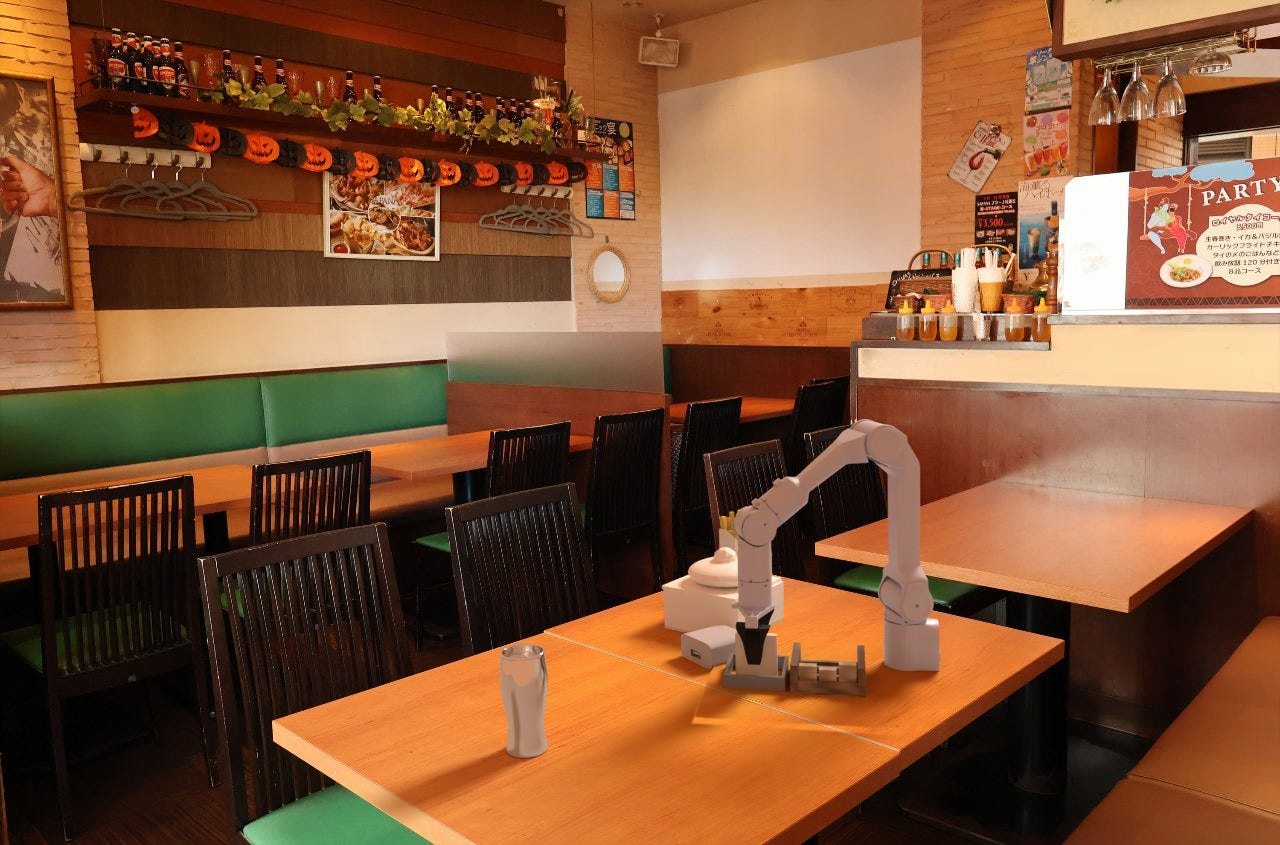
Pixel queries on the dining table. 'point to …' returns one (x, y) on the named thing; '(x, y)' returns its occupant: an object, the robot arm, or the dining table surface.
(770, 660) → the sheet
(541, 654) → the beer glass
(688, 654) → the charger
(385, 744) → the dining table surface
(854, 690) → the rack
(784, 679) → the tray
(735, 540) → the french fries container
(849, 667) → the offcuts
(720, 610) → the white lidded square jar
